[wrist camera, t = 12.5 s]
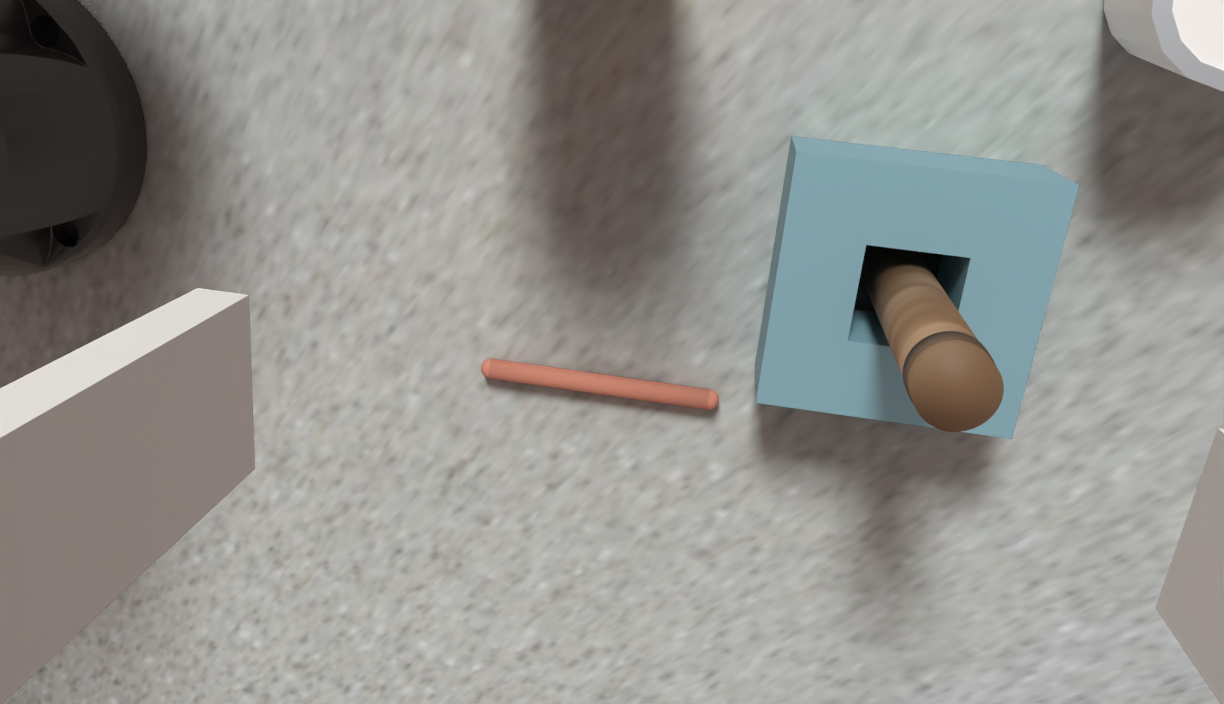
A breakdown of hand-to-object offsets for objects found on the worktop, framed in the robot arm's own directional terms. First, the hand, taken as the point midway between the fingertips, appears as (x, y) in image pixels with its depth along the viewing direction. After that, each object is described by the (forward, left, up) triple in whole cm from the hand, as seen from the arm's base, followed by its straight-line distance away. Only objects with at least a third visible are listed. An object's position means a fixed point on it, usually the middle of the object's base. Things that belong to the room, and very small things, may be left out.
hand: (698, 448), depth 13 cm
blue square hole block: (+8, -5, -33) cm, 34 cm away
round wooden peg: (+8, -5, -33) cm, 34 cm away
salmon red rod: (-5, -12, -33) cm, 35 cm away
